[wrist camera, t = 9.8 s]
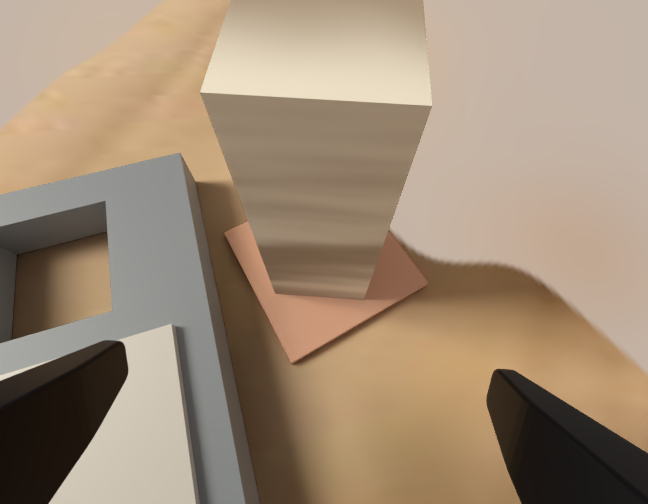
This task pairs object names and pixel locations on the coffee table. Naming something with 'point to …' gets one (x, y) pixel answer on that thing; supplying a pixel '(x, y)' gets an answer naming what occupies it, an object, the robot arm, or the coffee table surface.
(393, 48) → the block
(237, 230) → the pad
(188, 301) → the puzzle board
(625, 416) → the coffee table surface
